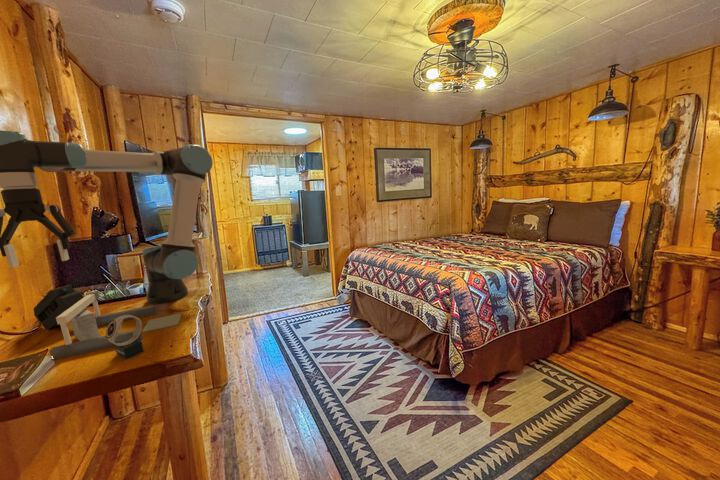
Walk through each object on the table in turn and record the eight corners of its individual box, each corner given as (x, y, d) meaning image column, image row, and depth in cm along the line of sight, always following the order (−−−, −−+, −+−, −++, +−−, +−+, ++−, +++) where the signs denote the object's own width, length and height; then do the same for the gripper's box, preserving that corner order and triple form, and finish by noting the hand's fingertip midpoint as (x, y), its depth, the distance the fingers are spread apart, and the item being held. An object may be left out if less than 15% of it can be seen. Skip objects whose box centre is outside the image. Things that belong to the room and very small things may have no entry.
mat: (181, 314, 110) (181, 313, 109) (177, 324, 101) (177, 323, 100) (149, 320, 106) (149, 319, 106) (142, 332, 97) (142, 331, 97)
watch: (108, 358, 82) (99, 321, 80) (140, 344, 89) (133, 309, 87) (118, 363, 79) (108, 325, 77) (150, 348, 86) (142, 312, 84)
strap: (103, 313, 107) (98, 290, 105) (73, 343, 85) (65, 315, 84) (95, 315, 106) (89, 292, 104) (62, 346, 84) (54, 317, 83)
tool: (79, 321, 100) (51, 285, 99) (51, 347, 105) (24, 313, 105) (98, 313, 106) (72, 280, 105) (70, 338, 111) (45, 306, 111)
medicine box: (100, 337, 95) (94, 312, 94) (82, 344, 92) (75, 318, 90) (92, 332, 100) (86, 308, 98) (74, 338, 96) (68, 313, 95)
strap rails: (157, 312, 113) (155, 304, 113) (141, 339, 92) (139, 330, 91) (87, 326, 105) (85, 318, 104) (51, 360, 83) (48, 350, 83)
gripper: (78, 186, 93) (94, 254, 97) (-28, 191, 84) (-5, 267, 88) (66, 185, 86) (85, 259, 90) (-50, 191, 77) (-24, 273, 81)
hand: (40, 263), depth 89 cm, fingers open, 11 cm apart
